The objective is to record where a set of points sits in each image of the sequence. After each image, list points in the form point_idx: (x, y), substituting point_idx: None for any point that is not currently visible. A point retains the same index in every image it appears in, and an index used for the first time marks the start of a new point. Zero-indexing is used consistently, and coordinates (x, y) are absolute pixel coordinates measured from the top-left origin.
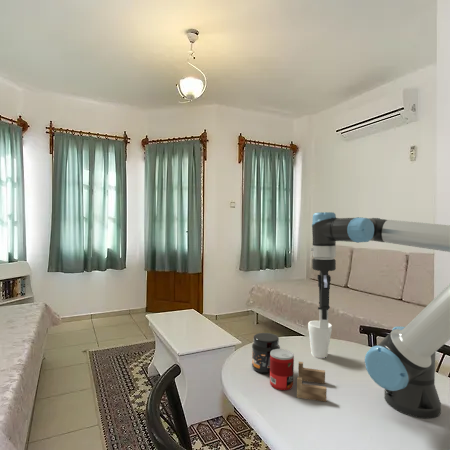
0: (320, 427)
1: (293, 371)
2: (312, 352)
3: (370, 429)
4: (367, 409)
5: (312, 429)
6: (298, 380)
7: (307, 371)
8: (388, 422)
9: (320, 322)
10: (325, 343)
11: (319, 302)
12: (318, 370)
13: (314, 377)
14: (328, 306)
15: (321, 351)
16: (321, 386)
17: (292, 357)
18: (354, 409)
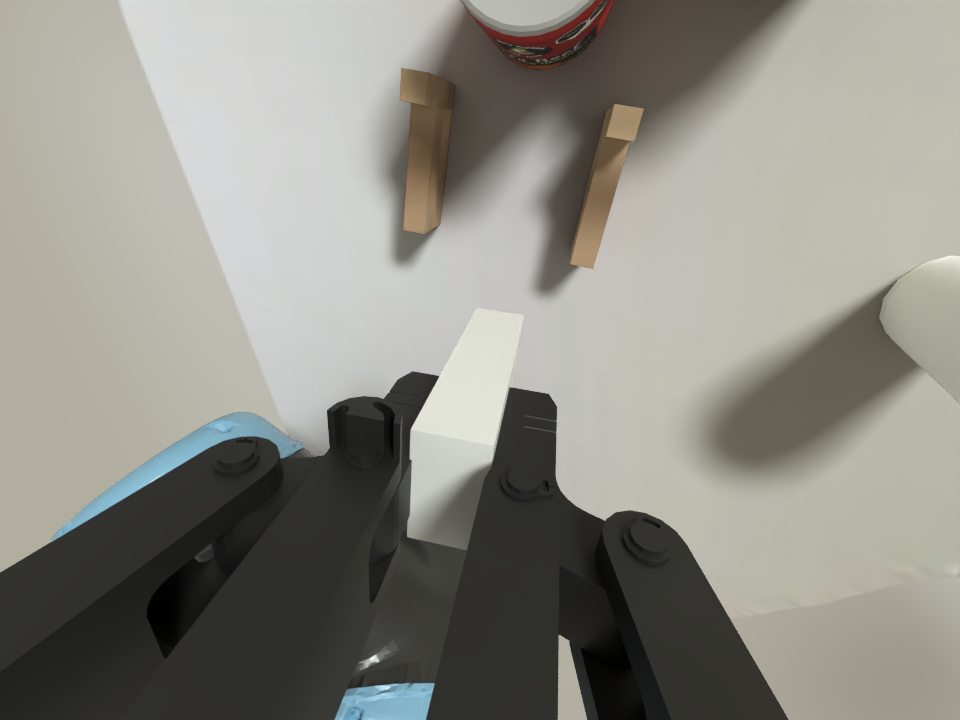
0: (258, 159)
1: (526, 57)
2: (953, 262)
3: (301, 321)
4: (404, 353)
5: (237, 125)
6: (403, 79)
7: (595, 166)
8: (350, 383)
9: (461, 339)
10: (932, 364)
11: (627, 547)
12: (591, 232)
13: (583, 204)
14: (196, 573)
15: (905, 317)
16: (423, 211)
17: (480, 19)
18: (394, 311)
